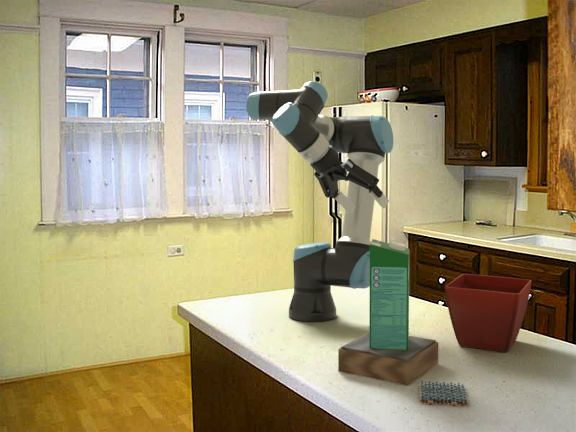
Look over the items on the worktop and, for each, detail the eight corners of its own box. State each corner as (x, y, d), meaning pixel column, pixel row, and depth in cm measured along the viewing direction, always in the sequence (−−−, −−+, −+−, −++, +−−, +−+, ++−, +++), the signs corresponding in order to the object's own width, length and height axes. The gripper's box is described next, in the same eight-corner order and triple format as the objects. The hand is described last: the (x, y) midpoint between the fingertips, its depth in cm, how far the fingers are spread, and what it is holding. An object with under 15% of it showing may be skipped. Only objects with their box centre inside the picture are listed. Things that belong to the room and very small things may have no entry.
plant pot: (517, 358, 169) (519, 293, 167) (442, 348, 178) (443, 286, 176) (530, 339, 185) (532, 279, 183) (461, 330, 195) (462, 273, 193)
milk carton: (408, 350, 157) (408, 244, 154) (369, 348, 159) (369, 243, 156) (408, 339, 166) (409, 239, 163) (372, 337, 168) (372, 238, 165)
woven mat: (418, 407, 140) (418, 397, 140) (417, 388, 150) (418, 380, 150) (470, 410, 138) (470, 400, 138) (466, 391, 148) (466, 382, 148)
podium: (338, 371, 161) (338, 346, 160) (372, 351, 176) (372, 329, 175) (408, 385, 151) (408, 359, 150) (438, 363, 166) (438, 340, 165)
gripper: (284, 171, 183) (333, 222, 191) (343, 155, 163) (395, 212, 171) (298, 152, 187) (345, 203, 195) (357, 133, 166) (407, 191, 174)
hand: (368, 207), depth 183 cm, fingers open, 13 cm apart
